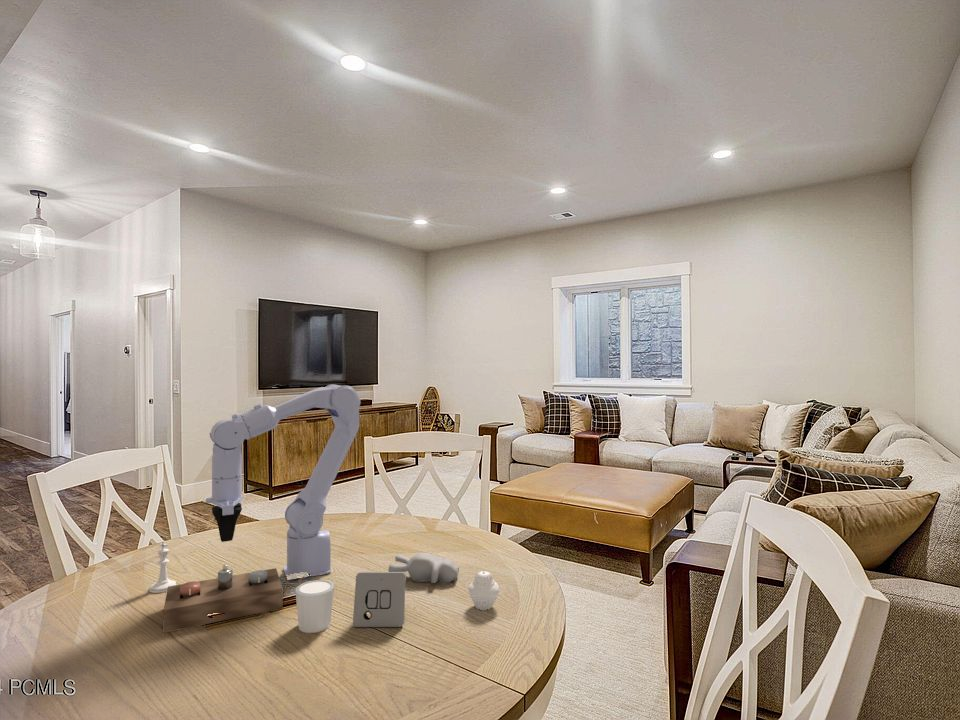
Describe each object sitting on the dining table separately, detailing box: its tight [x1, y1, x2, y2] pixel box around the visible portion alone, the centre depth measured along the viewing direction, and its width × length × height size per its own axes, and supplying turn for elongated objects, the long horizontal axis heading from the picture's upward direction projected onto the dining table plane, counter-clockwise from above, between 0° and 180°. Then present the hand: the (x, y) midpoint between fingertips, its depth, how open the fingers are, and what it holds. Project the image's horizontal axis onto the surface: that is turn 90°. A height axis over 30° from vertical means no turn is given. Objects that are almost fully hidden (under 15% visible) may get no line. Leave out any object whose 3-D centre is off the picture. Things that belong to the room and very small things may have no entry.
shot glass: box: [294, 579, 335, 634], centre depth 95 cm, size 7×7×7 cm
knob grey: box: [249, 569, 267, 586], centre depth 104 cm, size 3×4×5 cm
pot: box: [217, 564, 233, 590], centre depth 102 cm, size 3×3×4 cm
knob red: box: [180, 581, 200, 598], centre depth 99 cm, size 3×4×5 cm
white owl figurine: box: [467, 570, 500, 611], centre depth 102 cm, size 6×6×7 cm
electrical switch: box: [352, 571, 407, 628], centre depth 97 cm, size 9×5×9 cm, turn 90°
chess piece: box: [149, 540, 177, 594], centre depth 111 cm, size 5×5×10 cm
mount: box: [162, 568, 284, 634], centre depth 102 cm, size 20×11×4 cm, turn 118°
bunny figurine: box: [387, 552, 460, 584], centre depth 116 cm, size 10×5×15 cm
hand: (226, 540), depth 110 cm, fingers closed
